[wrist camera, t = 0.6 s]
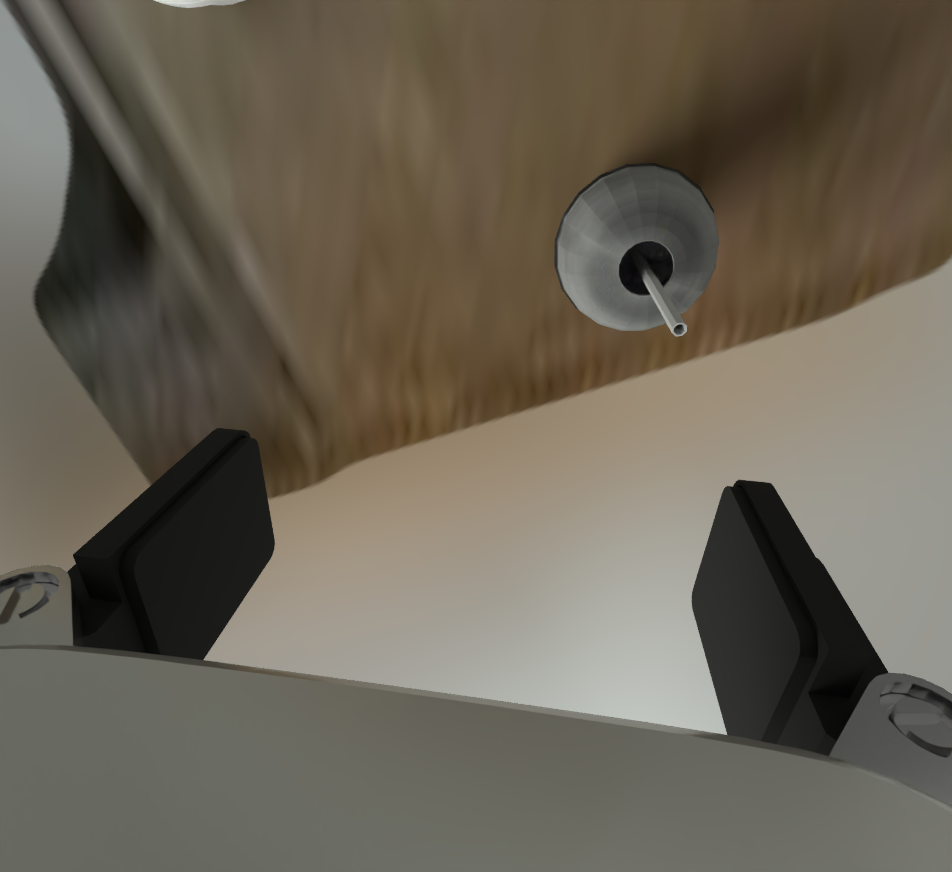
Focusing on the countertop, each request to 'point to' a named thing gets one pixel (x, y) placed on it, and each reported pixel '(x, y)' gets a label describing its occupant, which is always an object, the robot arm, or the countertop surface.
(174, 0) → the ramekin
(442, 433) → the countertop surface
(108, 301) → the countertop surface
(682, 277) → the beverage cup
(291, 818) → the robot arm
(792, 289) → the countertop surface
